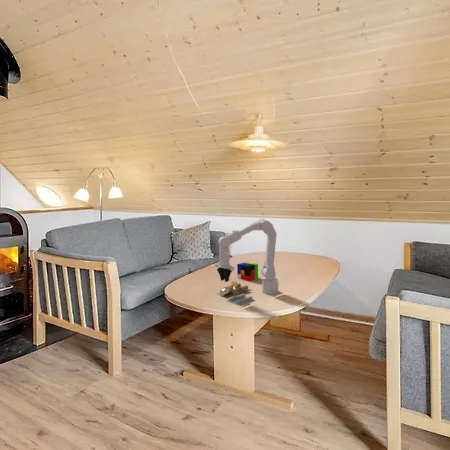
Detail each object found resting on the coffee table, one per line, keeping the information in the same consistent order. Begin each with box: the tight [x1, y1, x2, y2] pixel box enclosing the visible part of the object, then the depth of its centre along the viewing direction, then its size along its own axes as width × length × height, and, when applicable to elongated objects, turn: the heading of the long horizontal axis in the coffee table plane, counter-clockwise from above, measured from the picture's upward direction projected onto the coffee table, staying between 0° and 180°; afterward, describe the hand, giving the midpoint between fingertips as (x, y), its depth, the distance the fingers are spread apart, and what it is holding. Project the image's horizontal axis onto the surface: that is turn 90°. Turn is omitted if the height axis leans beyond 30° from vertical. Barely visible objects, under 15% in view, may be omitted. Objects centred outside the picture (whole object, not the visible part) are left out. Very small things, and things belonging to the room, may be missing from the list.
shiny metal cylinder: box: [219, 287, 233, 297], centre depth 215 cm, size 8×4×4 cm, turn 132°
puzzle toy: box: [236, 261, 259, 282], centre depth 252 cm, size 10×10×10 cm
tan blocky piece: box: [230, 280, 239, 289], centre depth 218 cm, size 3×4×6 cm
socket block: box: [217, 282, 253, 299], centre depth 219 cm, size 20×9×4 cm, turn 132°
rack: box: [226, 293, 255, 306], centre depth 205 cm, size 12×10×3 cm
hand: (224, 280), depth 213 cm, fingers open, 3 cm apart
